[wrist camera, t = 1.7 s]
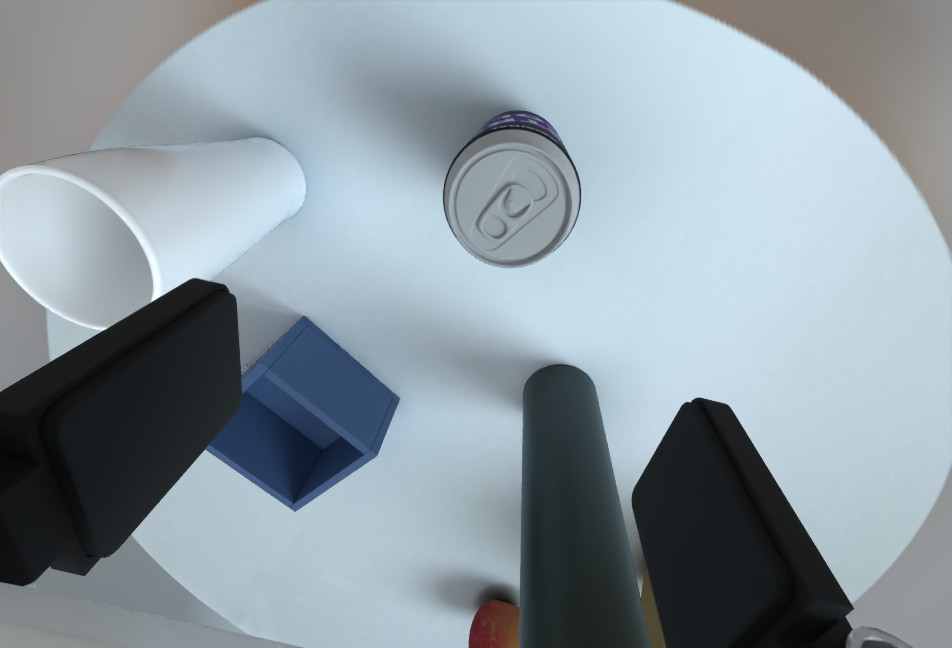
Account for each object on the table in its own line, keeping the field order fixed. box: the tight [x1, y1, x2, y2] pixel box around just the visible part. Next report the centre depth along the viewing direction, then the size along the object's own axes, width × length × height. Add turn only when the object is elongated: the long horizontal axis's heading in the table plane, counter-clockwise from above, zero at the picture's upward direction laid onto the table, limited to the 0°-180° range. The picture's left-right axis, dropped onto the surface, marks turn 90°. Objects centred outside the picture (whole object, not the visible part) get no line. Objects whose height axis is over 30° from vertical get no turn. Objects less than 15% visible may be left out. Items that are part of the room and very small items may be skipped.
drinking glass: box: [0, 137, 306, 331], centre depth 23 cm, size 7×7×15 cm
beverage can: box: [443, 111, 581, 268], centre depth 22 cm, size 6×6×12 cm
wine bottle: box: [519, 365, 651, 648], centre depth 23 cm, size 6×6×30 cm
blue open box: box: [205, 316, 400, 512], centre depth 36 cm, size 10×10×7 cm
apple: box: [469, 600, 520, 648], centre depth 47 cm, size 8×8×8 cm
